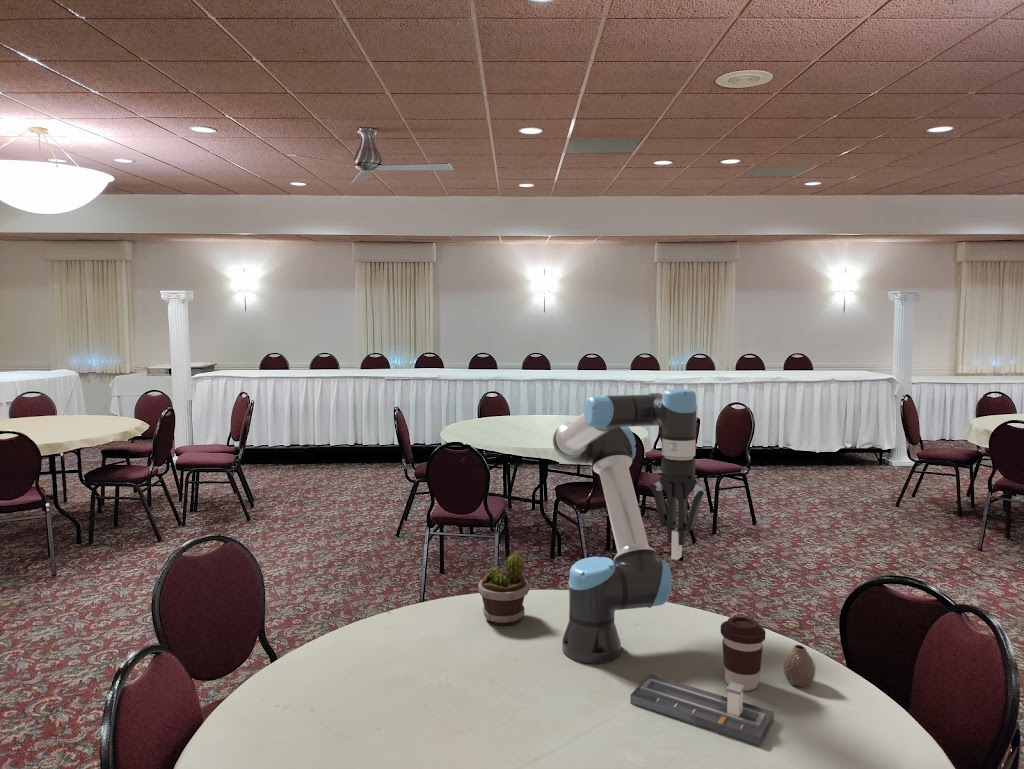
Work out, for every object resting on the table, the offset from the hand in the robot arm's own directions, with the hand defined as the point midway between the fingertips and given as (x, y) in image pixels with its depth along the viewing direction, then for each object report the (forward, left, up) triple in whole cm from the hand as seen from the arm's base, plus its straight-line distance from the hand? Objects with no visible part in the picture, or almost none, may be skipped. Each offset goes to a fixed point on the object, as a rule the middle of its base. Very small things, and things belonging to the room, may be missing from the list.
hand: (676, 557), depth 156 cm
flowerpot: (-54, +7, -31) cm, 62 cm away
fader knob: (+16, -8, -28) cm, 34 cm away
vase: (+24, +17, -31) cm, 42 cm away
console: (+9, -8, -30) cm, 33 cm away
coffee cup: (+13, +9, -31) cm, 34 cm away
